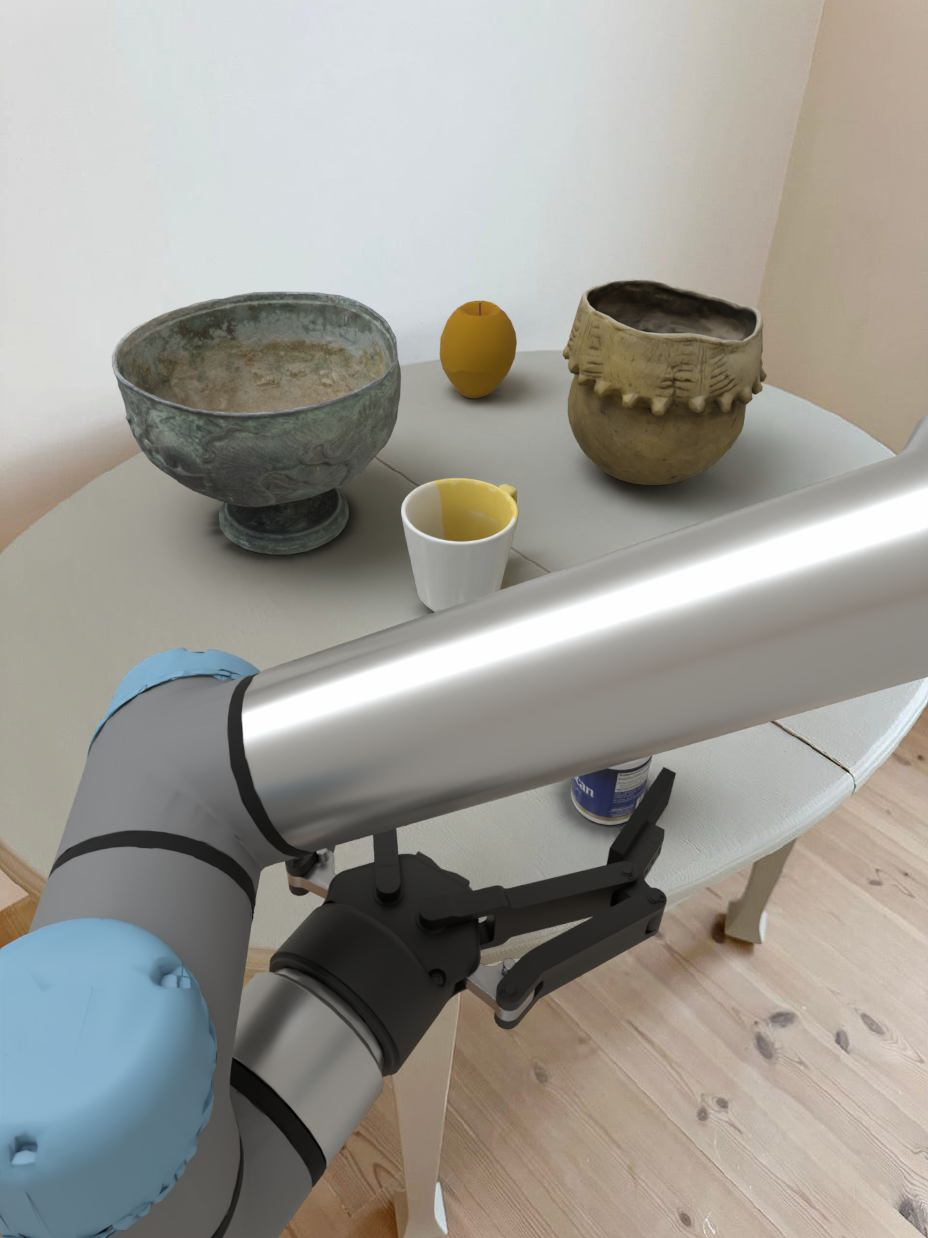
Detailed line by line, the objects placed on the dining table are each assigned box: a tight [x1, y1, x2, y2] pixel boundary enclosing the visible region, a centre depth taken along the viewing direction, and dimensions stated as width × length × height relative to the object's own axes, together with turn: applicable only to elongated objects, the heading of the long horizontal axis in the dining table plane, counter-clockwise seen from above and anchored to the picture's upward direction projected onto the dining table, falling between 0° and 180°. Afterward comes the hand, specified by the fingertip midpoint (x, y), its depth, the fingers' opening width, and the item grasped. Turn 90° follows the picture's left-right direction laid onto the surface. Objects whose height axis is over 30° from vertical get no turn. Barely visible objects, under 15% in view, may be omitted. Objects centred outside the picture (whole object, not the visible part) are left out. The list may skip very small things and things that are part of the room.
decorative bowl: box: [111, 291, 402, 555], centre depth 94 cm, size 26×26×20 cm
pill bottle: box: [570, 755, 653, 826], centre depth 69 cm, size 5×5×10 cm
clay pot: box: [562, 278, 768, 486], centre depth 102 cm, size 21×21×20 cm
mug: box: [400, 477, 519, 613], centre depth 88 cm, size 14×10×10 cm
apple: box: [439, 300, 518, 399], centre depth 119 cm, size 10×10×12 cm
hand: (559, 733), depth 56 cm, fingers open, 13 cm apart
